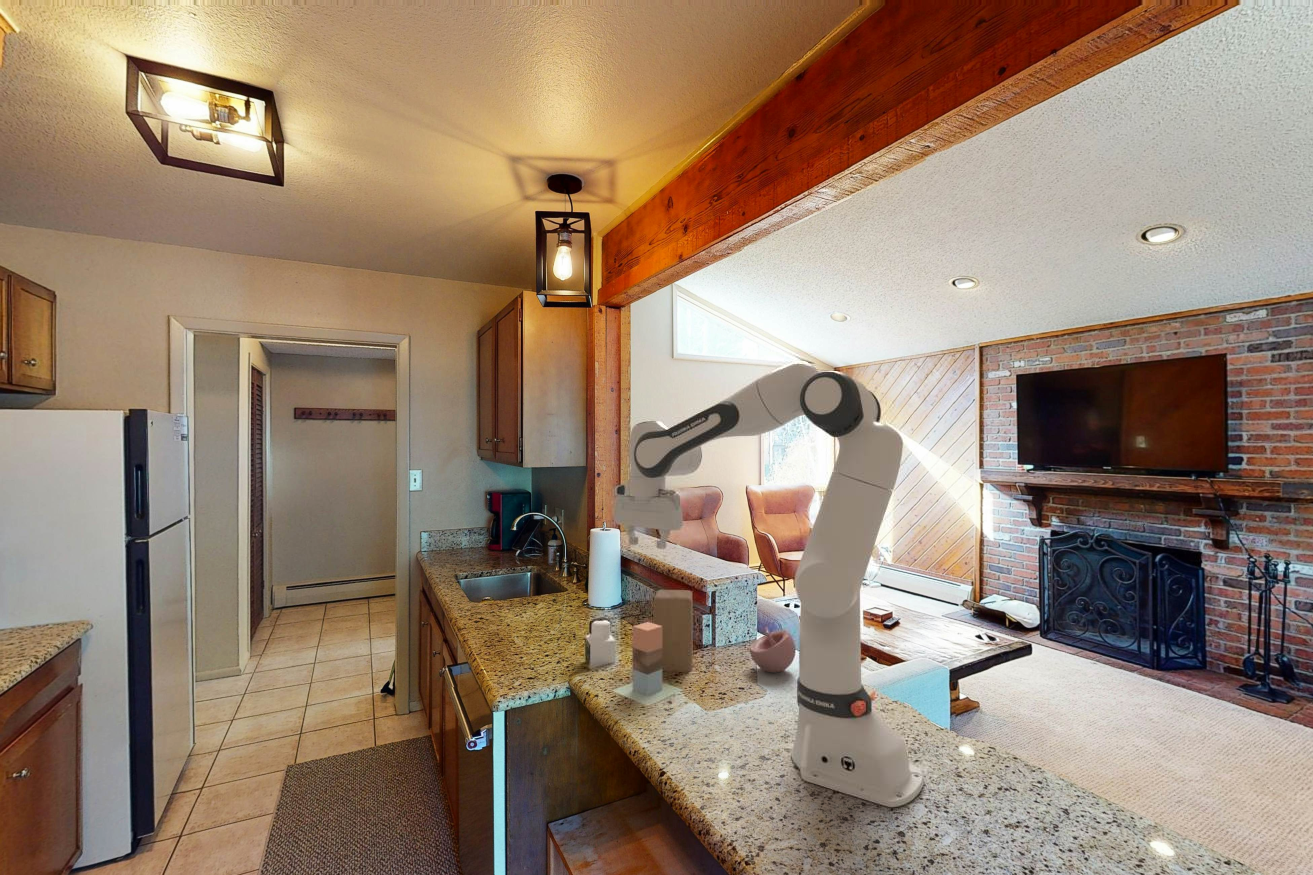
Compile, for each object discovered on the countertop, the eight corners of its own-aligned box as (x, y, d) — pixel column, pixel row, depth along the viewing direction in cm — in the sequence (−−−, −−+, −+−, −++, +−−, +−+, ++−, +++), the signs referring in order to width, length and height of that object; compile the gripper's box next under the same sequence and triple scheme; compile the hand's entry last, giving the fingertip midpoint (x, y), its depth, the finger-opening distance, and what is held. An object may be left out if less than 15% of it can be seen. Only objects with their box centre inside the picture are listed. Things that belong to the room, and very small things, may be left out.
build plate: (683, 694, 132) (683, 689, 132) (647, 711, 123) (647, 705, 123) (647, 681, 140) (647, 676, 140) (611, 695, 132) (611, 690, 132)
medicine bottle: (584, 660, 155) (585, 617, 155) (609, 658, 157) (609, 615, 158) (589, 670, 148) (589, 624, 149) (615, 667, 150) (615, 622, 151)
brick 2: (662, 668, 132) (662, 647, 132) (647, 674, 128) (647, 652, 129) (647, 663, 136) (647, 642, 136) (632, 669, 132) (632, 647, 132)
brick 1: (662, 647, 132) (662, 626, 133) (647, 652, 129) (647, 630, 129) (647, 642, 136) (647, 621, 136) (632, 647, 132) (632, 626, 132)
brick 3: (662, 689, 132) (662, 668, 132) (647, 696, 128) (647, 674, 129) (647, 684, 135) (647, 663, 136) (632, 690, 132) (632, 668, 132)
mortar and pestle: (747, 662, 154) (746, 620, 154) (790, 662, 153) (790, 620, 154) (752, 679, 142) (752, 633, 142) (800, 679, 141) (799, 634, 142)
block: (692, 662, 153) (692, 589, 154) (691, 676, 143) (691, 598, 144) (656, 661, 154) (656, 588, 155) (653, 675, 144) (653, 597, 145)
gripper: (688, 489, 129) (688, 549, 129) (628, 487, 143) (628, 541, 143) (670, 490, 125) (670, 552, 124) (609, 487, 139) (609, 543, 138)
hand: (647, 546), depth 133 cm, fingers open, 8 cm apart
